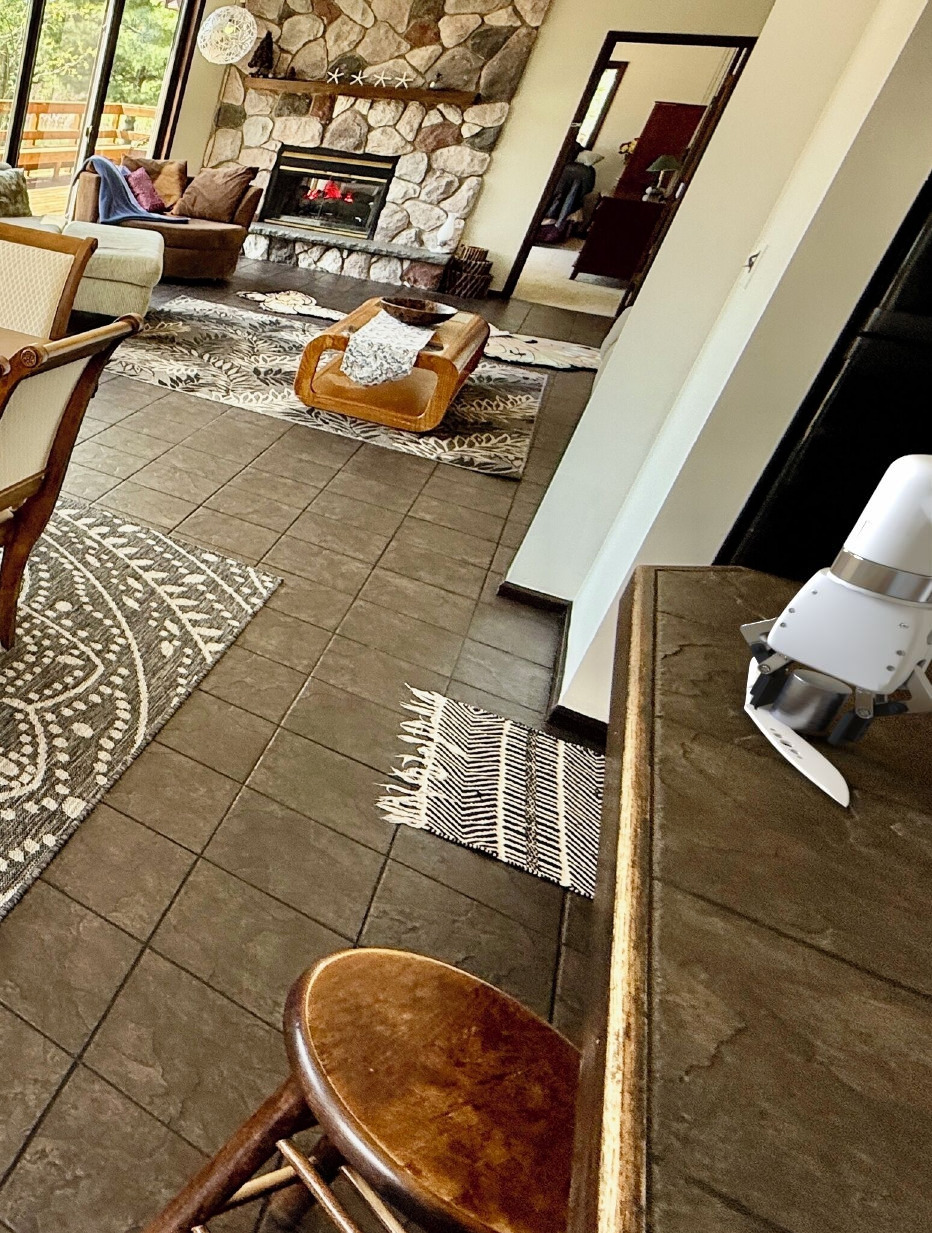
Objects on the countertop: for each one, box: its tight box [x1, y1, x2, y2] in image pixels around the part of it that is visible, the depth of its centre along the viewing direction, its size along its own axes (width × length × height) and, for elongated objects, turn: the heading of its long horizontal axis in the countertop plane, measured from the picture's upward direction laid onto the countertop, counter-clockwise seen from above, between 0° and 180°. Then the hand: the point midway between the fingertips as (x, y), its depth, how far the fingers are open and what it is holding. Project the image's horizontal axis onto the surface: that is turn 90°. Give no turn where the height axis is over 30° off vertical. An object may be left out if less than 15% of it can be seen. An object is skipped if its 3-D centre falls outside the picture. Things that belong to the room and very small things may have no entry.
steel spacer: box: [769, 668, 853, 737], centre depth 96 cm, size 4×4×6 cm
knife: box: [744, 656, 850, 808], centre depth 97 cm, size 30×2×8 cm
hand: (799, 722), depth 97 cm, fingers open, 5 cm apart
